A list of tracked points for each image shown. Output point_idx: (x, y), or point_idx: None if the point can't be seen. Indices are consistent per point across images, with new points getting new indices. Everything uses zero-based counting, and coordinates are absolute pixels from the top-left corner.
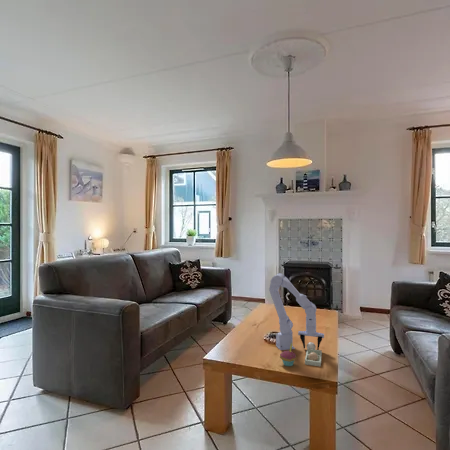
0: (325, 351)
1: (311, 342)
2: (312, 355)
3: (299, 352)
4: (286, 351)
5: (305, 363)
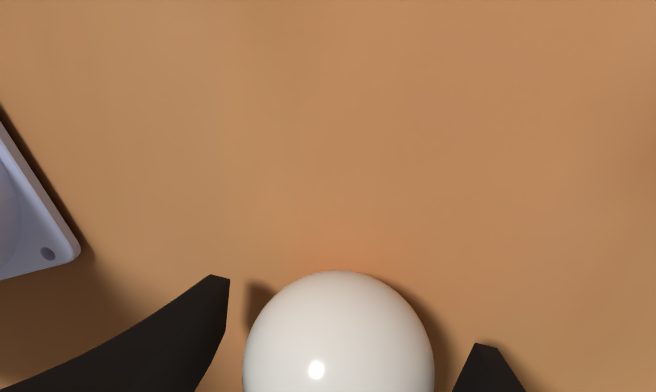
0: (632, 318)
1: None
2: None
3: None
4: None
5: None
